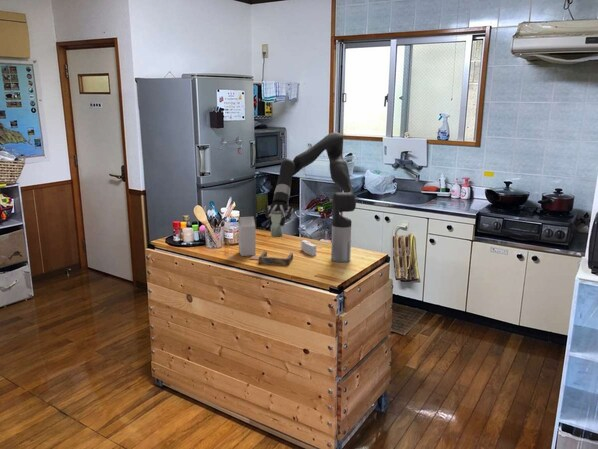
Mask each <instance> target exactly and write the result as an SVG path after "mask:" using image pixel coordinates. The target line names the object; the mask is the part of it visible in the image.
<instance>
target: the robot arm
mask: <svg viewBox="0 0 598 449" xmlns="http://www.w3.org/2000/svg"><path fill="white" fill-rule="evenodd" d="M343 149H344V136H343V134H342V133H340V132H335V131H333V132H330V133H328V134H326V136H324V137H323V138H322V139H320V140H319V141H318V142H317V143H315V144H313V146H311V147H310V148H308V149H306V150H305V151H303V152H301V153H299V154H298V155H295V157H294V158H293V160H292V159H290V158H285V159H283V160H282V161H281V163H280V169H279V175H278V178H277V183H276V186H275V189H274V192H273V199H272V203H271V204H270V205H268V204H265V206H264V215H265V218H267V224H268V226H270V227H271V210H282V211H283V213H282V221H281V226H282V227H284V226H285V224H286V220H290V218H291V217H292V214H293V212H294V208H293V206H292V205H291V206H288V205H289V200H290V196H291V187H292V181H293V177H294V176H295V175H296V174H297V173H298V172H300V171H301V170H303V168H306V167H307V166H309V165H312V164H313V163H314V162H315V161H316V160H317V159H318V158H319V157H320V156H321V154H322V153H323V152H324V151H326V154H327V158H328V159H329V172H330V177H331V180H332V182H333V183H334V184H335V186H337V187H338V188H339V189H340V190H342V192H334V193H333V195H332V198H331V199H332V200H331V202H332V203H331V204H332V205H331V206H332V208H331V209H332V220H331V221H332V223H331V224H332V225H331V250H330V251H331V252H330V257H331V258H330V259H331V260H332V261H333V262H338V263H347V262H350V261H351V255H352V254H351V251H352V219H350V218H349V217H345V216H343V215H341V214H340V212H341V213H343V212H344V213H349V212H354V211H355V210H356V208H357V207H356V206H357V201H356V196H355V193H354V190H353V189H354V188H353V187H352V183H351V178H350V171H349V167H348V164H347V162H346V161H345V160H344V157H343V156H344V154H343V151H344V150H343ZM270 209H271V210H270ZM269 211H270V213H269ZM286 211H288V212H287V213H286V214H285V212H286Z"/></svg>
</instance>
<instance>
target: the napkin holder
mask: <svg viewBox="0 0 598 449" xmlns="http://www.w3.org/2000/svg"><path fill="white" fill-rule="evenodd" d="M300 242H301V243H300V245H301V247H300V250H301V251H303V252H304V253H306V254H308V255H309V256H312V257H313V256H317V245H316V244H313V243H311V242H310V241H309V240H307V239H306V240H301V241H300Z"/></svg>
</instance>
